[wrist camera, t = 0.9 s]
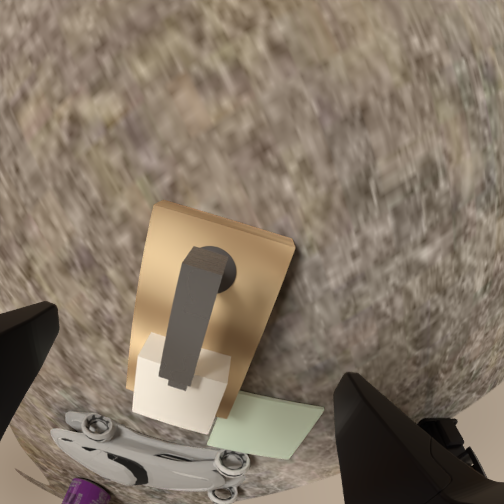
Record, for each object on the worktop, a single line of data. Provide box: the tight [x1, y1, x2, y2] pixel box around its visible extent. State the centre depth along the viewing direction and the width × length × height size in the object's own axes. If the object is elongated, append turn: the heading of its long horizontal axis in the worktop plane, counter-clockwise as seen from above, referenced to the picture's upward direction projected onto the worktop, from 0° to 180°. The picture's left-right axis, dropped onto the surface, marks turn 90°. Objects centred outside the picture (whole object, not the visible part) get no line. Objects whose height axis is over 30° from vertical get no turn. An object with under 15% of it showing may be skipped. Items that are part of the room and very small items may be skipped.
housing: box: [126, 200, 295, 419], centre depth 22 cm, size 16×9×2 cm, turn 163°
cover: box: [132, 332, 231, 435], centre depth 20 cm, size 6×6×3 cm
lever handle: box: [158, 246, 228, 391], centre depth 16 cm, size 10×2×7 cm, turn 163°
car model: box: [51, 411, 250, 504], centre depth 27 cm, size 11×24×5 cm, turn 80°
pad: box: [207, 390, 324, 460], centre depth 26 cm, size 9×9×1 cm
